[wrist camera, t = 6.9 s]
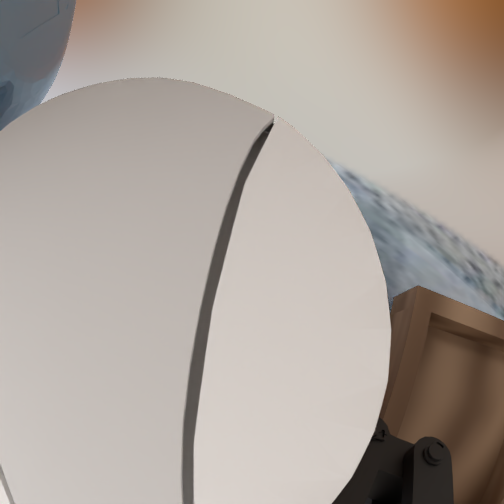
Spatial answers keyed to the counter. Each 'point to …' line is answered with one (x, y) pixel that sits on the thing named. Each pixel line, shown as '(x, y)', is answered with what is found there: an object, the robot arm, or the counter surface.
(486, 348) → the walnut tray
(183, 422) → the coffee cup
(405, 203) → the counter surface
